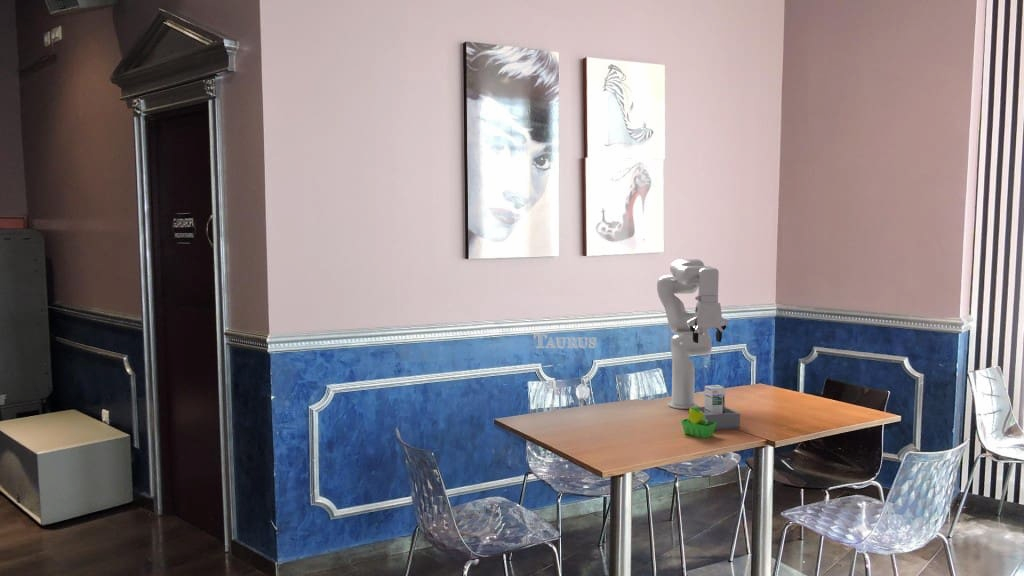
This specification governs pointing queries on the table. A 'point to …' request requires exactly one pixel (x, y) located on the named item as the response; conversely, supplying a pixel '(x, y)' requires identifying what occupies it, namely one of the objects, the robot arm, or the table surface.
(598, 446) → the table surface
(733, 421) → the bin
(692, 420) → the fruit basket
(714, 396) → the syrup box
